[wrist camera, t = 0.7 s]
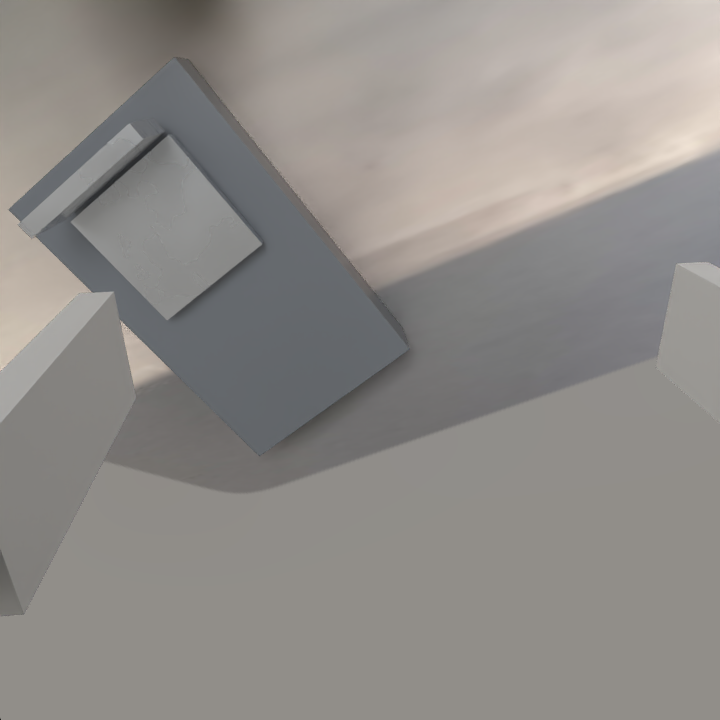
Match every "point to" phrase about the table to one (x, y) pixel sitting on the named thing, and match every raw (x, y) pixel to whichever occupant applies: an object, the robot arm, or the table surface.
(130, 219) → the shutter
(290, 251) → the socket block
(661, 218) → the table surface
